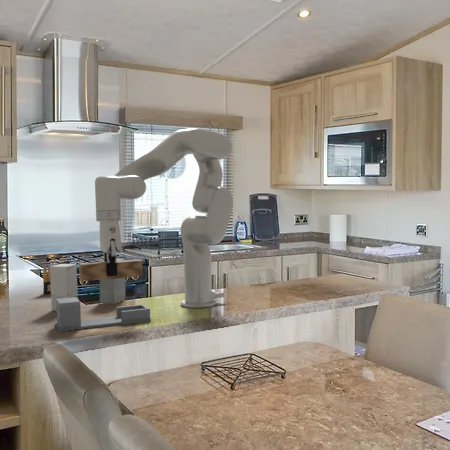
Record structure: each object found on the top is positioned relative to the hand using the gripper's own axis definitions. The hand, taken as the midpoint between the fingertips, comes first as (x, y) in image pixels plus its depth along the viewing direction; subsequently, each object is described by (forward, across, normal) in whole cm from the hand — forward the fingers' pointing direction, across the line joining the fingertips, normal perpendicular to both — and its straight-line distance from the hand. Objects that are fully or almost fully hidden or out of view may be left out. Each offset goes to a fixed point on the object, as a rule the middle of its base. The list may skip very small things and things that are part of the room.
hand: (110, 274), depth 175 cm
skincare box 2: (+15, +31, -7) cm, 35 cm away
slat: (+1, 0, 0) cm, 1 cm away
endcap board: (+15, 0, +3) cm, 15 cm away
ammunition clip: (+15, +58, +10) cm, 61 cm away
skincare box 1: (+15, +27, +11) cm, 33 cm away
